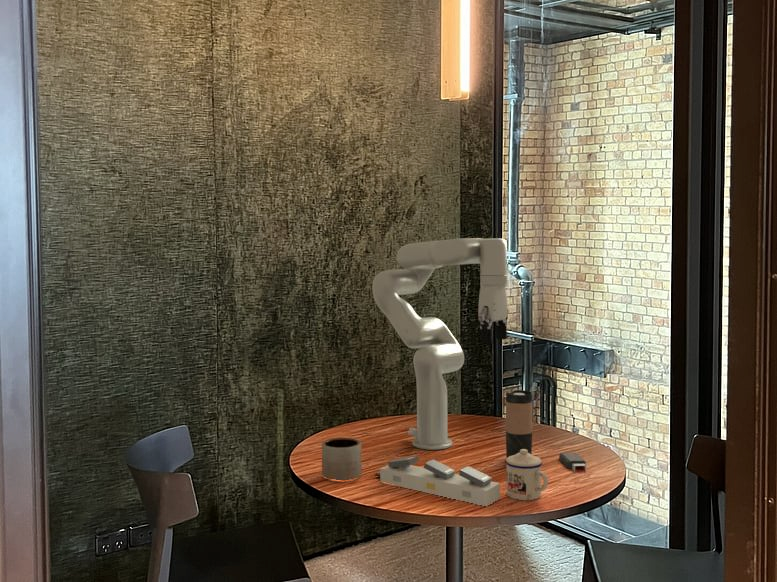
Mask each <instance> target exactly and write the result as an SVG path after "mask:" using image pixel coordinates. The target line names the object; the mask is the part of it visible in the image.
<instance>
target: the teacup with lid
mask: <svg viewBox="0 0 777 582" xmlns="http://www.w3.org/2000/svg"><path fill="white" fill-rule="evenodd" d="M505 464H506V495H507V496H508V497H509V498H511V499H513V500H517V499H518V500H517V501H534V499H535V500H537V499H540V497H541V496H542V492H544V491H545V490H546V488H548V484H549V480H548V479H549V478H548V476H547V474H546V473H544V471H542V465H543V461H542V459H541V458H539V457H538V456H535V455H533V454H532V455H531V454H529V453H528V450H526V449H521V450H520V453H517V454H515V455H512V456H509V457H508V458H507V457H506V460H505ZM542 479H543V483H542ZM542 484H543V485H542Z"/></svg>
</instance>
